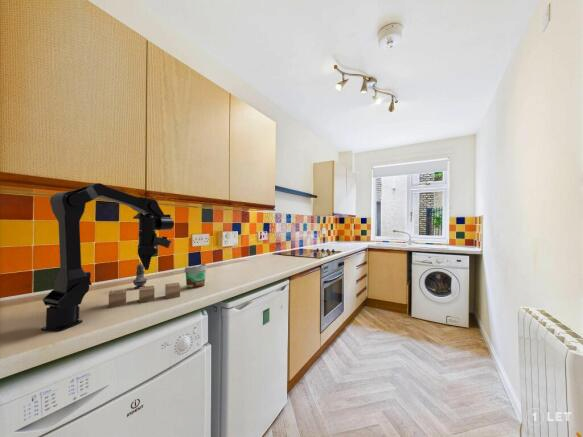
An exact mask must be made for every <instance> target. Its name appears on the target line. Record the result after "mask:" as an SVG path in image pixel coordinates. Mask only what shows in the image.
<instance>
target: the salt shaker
mask: <svg viewBox="0 0 583 437" xmlns="http://www.w3.org/2000/svg"><path fill="white" fill-rule="evenodd" d="M144 273H145V269H144V266H143V264H142V262H139V264H137V265H136V272H135V274H136V277H135V279H133V280H132V282H133V285H134V287H133V288H132V290H139V287H146V284H147V281H148V279H147V278H145V276H144V275H145V274H144Z"/></svg>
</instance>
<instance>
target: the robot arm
mask: <svg viewBox="0 0 583 437" xmlns="http://www.w3.org/2000/svg"><path fill="white" fill-rule="evenodd" d="M96 198H101V199H104V200H107V201H111V202H113V203H117V204H119V205H123V206H127V207H130V208H131V209H132V210H133V211H134V212H137V214H136V215H134V216H133V217H132V219H133V220H138V244H137V255H138V258H139V260H140V263H141V264H142V265H143V266H144V271H148V270H149V269H150V264H151V260H152V257H153V256H154V255H156V254H158V247H157V246H161V247H163V248H166V249H169V247H170V246H171V243H172V240H170V239H168V237H167V236H165V235H163V236H161V237H159V236H157V232H156V231H170V230H172V229H173V228H174V226H175V222H174V219H173V218H172V217H171V214H165V213H164V212H163V210H162V208H161V207H160V204H159V203H158V201H157V200H156V199H155V198H149V197H142V196H141V197H140V196H135V195H132V194H129V193H127V192H124V191H122V190H119V189H115V188H114V187H113V188H112V187H110V186H106V185H104V184H103V183H99V182H98V183H90V184H87V185H85V186H83V187H80V188H77V189H74V190H69V191H67V190H66V191H60V192H57V193H54V194H53V195H51V196H50V198H49V204H50V207H51V211H52V213H53V215H54V217H55V218H56V220H57V224H58V244H59V246H58V247H59V264H60V265H59V267H60V268H59V272H58V273H57V275H56V277H55V279H54V285H53V286H54V287H53V289H51V291H50V292H49V293H47V295H45V296H44V297H43V299H42V301H43V304H44V306H45V307H46V306H49V307H46V310H45V315H46V316H45V326H44V327H43V326H42V327H41V328H40V331H55V332H61V331H64V330H67V329H68V328H71V327H74V326H76V325H78V324H79V325H80V323H83V319H80V305H81V304H82V302H83V300H84V297H85V295H86V294H87V293H88V292H89V290H90V286H92V282H91V277H92V276H91V273H92V272H91V271H84V269H83V267H82V251H81V248H82V247H81V246H82V245H81V227H80V224H81V223H80V222H81V219H82V217H83V216H84V213H85V210H86V204H87V203H90V202H92V201H94V200H95V199H96Z"/></svg>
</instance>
